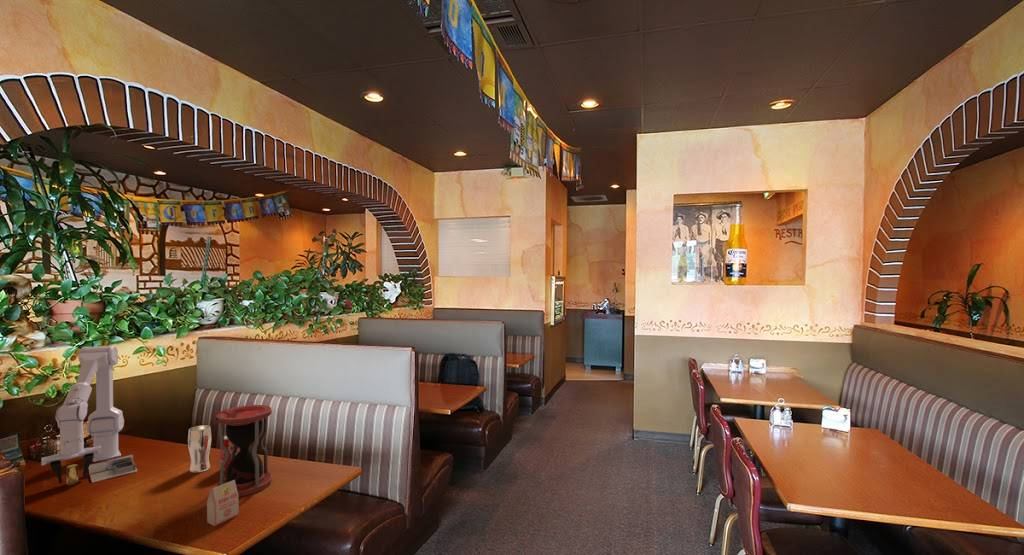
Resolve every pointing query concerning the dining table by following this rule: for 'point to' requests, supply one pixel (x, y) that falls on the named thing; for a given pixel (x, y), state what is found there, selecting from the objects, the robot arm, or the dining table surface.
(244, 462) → the hourglass
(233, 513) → the white printed box
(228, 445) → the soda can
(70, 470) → the brass pin
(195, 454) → the beer glass
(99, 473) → the hinge base
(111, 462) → the grey slotted holder
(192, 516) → the dining table surface
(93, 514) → the dining table surface
